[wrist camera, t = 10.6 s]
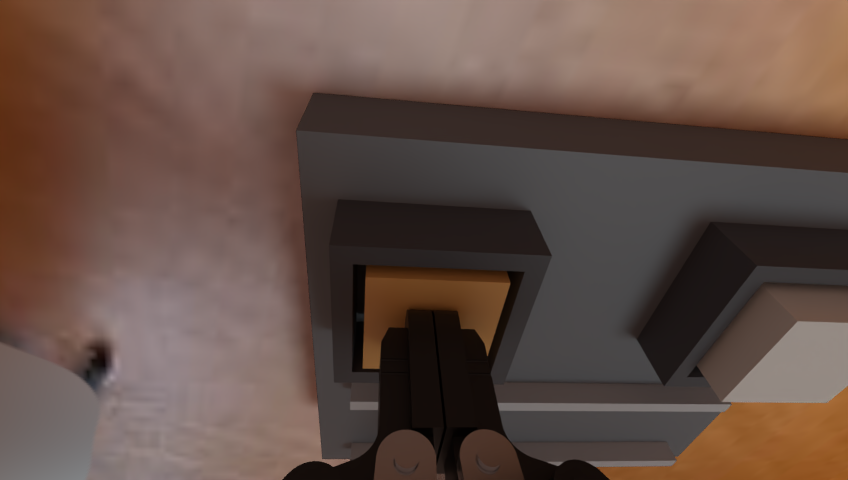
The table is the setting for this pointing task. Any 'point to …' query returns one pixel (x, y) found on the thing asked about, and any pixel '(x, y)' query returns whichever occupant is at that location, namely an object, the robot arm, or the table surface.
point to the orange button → (430, 300)
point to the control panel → (562, 257)
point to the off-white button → (783, 346)
